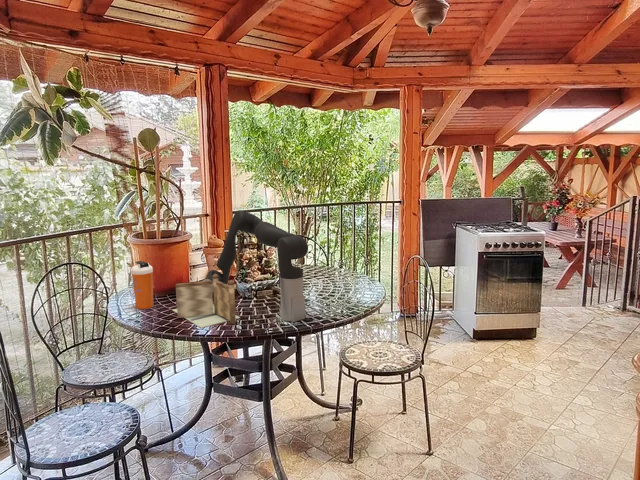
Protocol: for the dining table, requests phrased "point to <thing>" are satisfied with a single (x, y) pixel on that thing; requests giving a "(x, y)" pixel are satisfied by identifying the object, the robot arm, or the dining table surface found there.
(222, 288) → the panel
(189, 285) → the fence panel
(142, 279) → the shaker bottle
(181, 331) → the dining table surface
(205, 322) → the card
